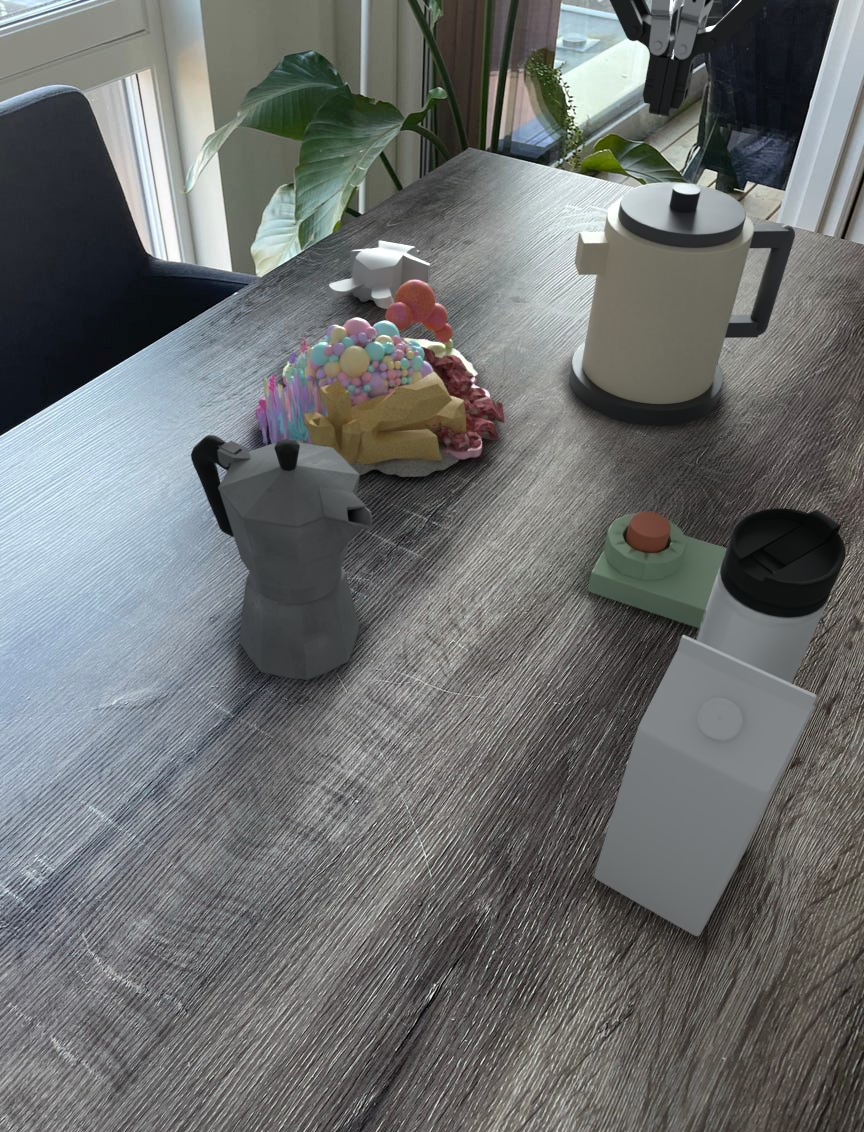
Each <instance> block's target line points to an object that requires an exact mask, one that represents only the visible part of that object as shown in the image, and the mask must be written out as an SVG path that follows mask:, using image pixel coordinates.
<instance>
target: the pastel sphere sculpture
mask: <svg viewBox="0 0 864 1132" xmlns="http://www.w3.org/2000/svg"><path fill="white" fill-rule="evenodd" d="M384 315H385V320H381V321H378V322H376V323H374V325H371V324H370V323H369V322H368V321H367V320H366V319H363V318H361V317H352V318H350V319H348V320H347V321H345V323H344V324H343V326H340V325H338V324H331V325H330V326H328V328H327V329H326V335H324V336H322V337H321V338H320V339H319V340H318V341H317V342H316V344H314V343H313V344H312V345H311V346H309V345H308V344H309V343H308V341H307V340H306V339H305V336H304V335H303V336H302V342H301V345H300V350H301V352H300V353H298V354H297V355H296V353H295V352H294V350H293V349H291V355H290V356H289V357H290V360H288V361H287V363H286V365H285V366H284V367H283V368H282V374H281V376H282V383H283V384H284V385H285V386H283V384H279V382H278V383H277V385H276V377H275V375H276V374H275V373H273V375H271V378H269V380H268V378H266V377H264V378H263V393H264V397H262V398H260V399H259V400H258V406H259V407H257V408H256V409H255V417H256V419H258V424H259V431H261V432H262V433H261V434H262V443H263V444H265V446H267V445H269V444H268V435H269V440H270V444H273V443H276V442H278V441H281V440H284V439H290V440H295V441H296V442H298V443H305V444H312V445H318V446H325V447H332V448H334V449H335V450H336V451H337V452H338V453H339V454H340V455H341V456H342V457H343V458H344V459H345V461H346V462H347V463H348V464H349V465H350V466H351V467H352V468H353V469H354V470H355V471H356V472H357V473H358V474H359V475H360V476H362V475H366V474H367V473H369V472H370V471H373V470H378V471H379V472H381V473H383V474H384V475H396V476H398V477H402V478H407V477H408V478H410V477H411V478H414V477H415V478H417V477H426V476H429V475H430V474H432V473H433V472H435V471H444V470H446V469H448V468H450V467H451V466H453V465H454V464H457V463H458V462H459V461H460V460H466V459H470V458H477V457H481V455H482V453H483V450H484V449H485V447H484V445H483V441H482V439H486V440H490V441H496V442H501V440H500V438H499V435H498V434H499V433H498V431H497V427H496V424H495V422H494V421H497V422H499V423H504V424H505V415H504V407H503V406H504V405H503V403H502V402H499V401H497V400H494V399H492V398H491V396H490V392H489V390H487V389H485V388H482V387H480V386H478V385H476V383H477V382H478V378H479V374H478V371H476V370H475V369H474V367H473V362H470V361H468V360H467V359H466V358H465V356H464V355H462V354H461V352H460V350H458V349H455V348H453V347H454V341H453V340H452V337H453V334H454V330H453V328H452V326H451V325H450V324H448V323H447V322H448V318H449V315H448V311H447V310H446V308H445V306H444V305H442V304H440V303H437V299H436V295H435V292H434V290H433V289H432V288H431V286H430V285H429V283H428V284H427V283H425V282H422V281H420V280H410V281H408V282H406V283H404V284H403V285H401V286H400V288H399V289H398V291H397V293H396V296H395V303H394V304H392V305H390V307H389V308H388V309H386V312H385V314H384ZM420 323H421V324H422V326H423V327H424V329H426V330H428V331H430V332H434V333H433V335H434V337H435V339H436V341H431V340H428V339H424V338H411V337H410V338H409V337H403V336H401V334H400V331H405V330H407V328H408V327H409V326H410V325H411V324H420ZM268 381H269V382H268ZM267 432H268V435H267Z"/></svg>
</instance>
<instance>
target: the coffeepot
mask: <svg viewBox="0 0 864 1132" xmlns="http://www.w3.org/2000/svg"><path fill="white" fill-rule="evenodd" d="M190 458H191V463H192V464H193V467H194V469H195V471H196V474H197V476H198V479H199V482H200V483H201V486H202V488H203V491H204V494H205V496H206V499H207V501H208V504H209V506H210V508H211V511H212V513H213V515H214V517H215V520H216V522H217V525H218V528H219V529H220V531H221V532H223V533H224V534H225V535H228V536H230V537H232V538H234V541H235V544H236V548H237V550H238V554H239V557H240V560H241V562H242V563H243V565H244V566H245V567H246V569H247V570H248V574H247V577H246V580H245V583H244V592H243V602H242V612H241V621H240V631H239V639H238V642H239V644H240V646H241V647H242V649H243V650H244V651H245V653H246V655H247V656H248V659H250V660H251V661H252V662H253V664H254V665H255V666H256V668H257V669H258V670H259V672H260V673H263V674H266V675H273V676H276V677H280V678H287V679H294V680H304V681H308V680H312V679H314V678H317V677H320V676H323V675H325V674H328V673H329V672H331V671H333V670H335V669H337V668H339V667H340V666H343V665H344V664H346V663H349V661H350V660H351V659H350V658H351V656H352V653H353V651H354V649H355V645H356V641H357V640H358V635H359V633H360V630H361V628H360V624H359V620H358V615H357V612H356V608H355V607H356V606H355V604H354V600H353V595H352V591H351V587H350V584H349V579H348V576H347V575H348V574H347V572H346V571H345V568H343V566H342V565H343V563H344V561H345V558H346V555H347V552H348V548H349V543H350V542H351V541H352V540H353V538H354V537H355V535H356V534H358V533H359V531H361V530H369V529H370V528H371V527H372V525H373V513H372V511H371V510H370V509H369V508H368V507H367V505H366V503H364V502H363V501H362V500H361V499H360V498H359V497H358V496H357V495H358V488H359V482H360V477H361V475H359V474H358V473H357V472H356V471H355V470H354V469H353V468H352V467H351V466H350V465H349V464H348V463H347V462H346V461H345V459H344V458H343V457H342V456H341V455H340V454H339V453H338V452H337V451H336V450H335V449H334V448H332V447H325V446H318V445H312V444H305V443H298V442H296V441H295V440H290V439H284V440H281V441H278V442H276V443H273V444H272V443H270V444H268V445H267V446H266V445H264V446H262V447H258V448H256V449H252V450H250V451H249V449H248V447H246V446H244V445H242V444H239V443H237V442H235V441H234V440H229V442H227V441H226V440H223V439H222V438H221V437H219V436H217V435H214V434H207V435H206V436H205V437H203V438H202V439H201V440H200V441H199V442H198V443H197V444H195V445H194V447H193V448H192V451H191V453H190ZM217 465H218V466H219V467H220V468H222V469H223V470H225V471H226V473H225V475H224V477H222V480H221V479H220V473H219V469H218V467H217Z"/></svg>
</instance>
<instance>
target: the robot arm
mask: <svg viewBox="0 0 864 1132" xmlns="http://www.w3.org/2000/svg"><path fill="white" fill-rule="evenodd" d="M769 1H770V0H739V1H738V2H737V3H736V4H735V5H734V6H733V7H732V8H731V9H729V11H728V12H727V13H726V14H725V15H724V16H723V17H722V18H721V19H720V20H719V21H718V22H717V23H716V24H715V25H711V26H708V27H706V25H707V21H708V17H709V14H710V11H711V9H712V7H713V4H714V0H651V6H650V8H649V6H648V4H647V2H646V0H609V2H610V5H611V6H612V9H613V11H614V13H615V15H616V17H617V19H618V21H619V24H620V25H621V28H622V30H623V33H624V34H625V37H626V38H627V40H629V41H631V42H639V43H641V44H642V45H643V46H645V47H646V49H647V50H648V53H649V54H648V55H649V58H648V64H647V69H646V75H645V81H644V86H643V90H642V91H643V92H642V98H643V103H644V104H647V105H649V107H648V114H652V115H657V116H662V117H668V118H670V117H671V116H672V115H673V113H675V111H676V110H679V109H680V108H681V107H682V106H683V104H684V103H685V101H686V100H687V98H688V96H689V93H690V87H691V85H692V84H691V83H692V78H693V74H694V69H695V63H696V59H697V56H699V55H703V54H707V53H709V54H713V53H716V52H717V51H718V50H719V49H720V48H721V47H723V45H725V44H726V43H727V41H729V40H730V39H731V38H732V37H733V36H734V35H735V34H736V33H737V32H738V31H739V30H740V29H741V28H742V27H743V26H744V25H745V24H746V23H747V22H748V21H749V20H751V19H752V17H753V16H754V15H756V14H757V13H758V12H759V11H760V10H761V9H762V8H763V7H764V6H765V5H766V4H767V3H768V2H769ZM681 8H682V9H681ZM679 22H680V23H679Z"/></svg>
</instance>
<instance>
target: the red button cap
mask: <svg viewBox="0 0 864 1132" xmlns="http://www.w3.org/2000/svg"><path fill="white" fill-rule="evenodd" d="M634 514H635V515H634V516H633V517H632V518H631V519H630V523H629V527H628V531H627V535H626V541H627V543H628V545H629V546H630V547H632V548H633V549H634V550H637V551H640V552H644V553H659V552H661V551H662V550H664V548H665V547H666V545H667V541H668V538H669V534H670V530H671V525H670V523H669V521H670V520H669V519H668V518H666V517H665V516H663V515H662V514H660V513H658V512H653V511H639V512H638V513H634ZM668 520H669V521H668Z"/></svg>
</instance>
